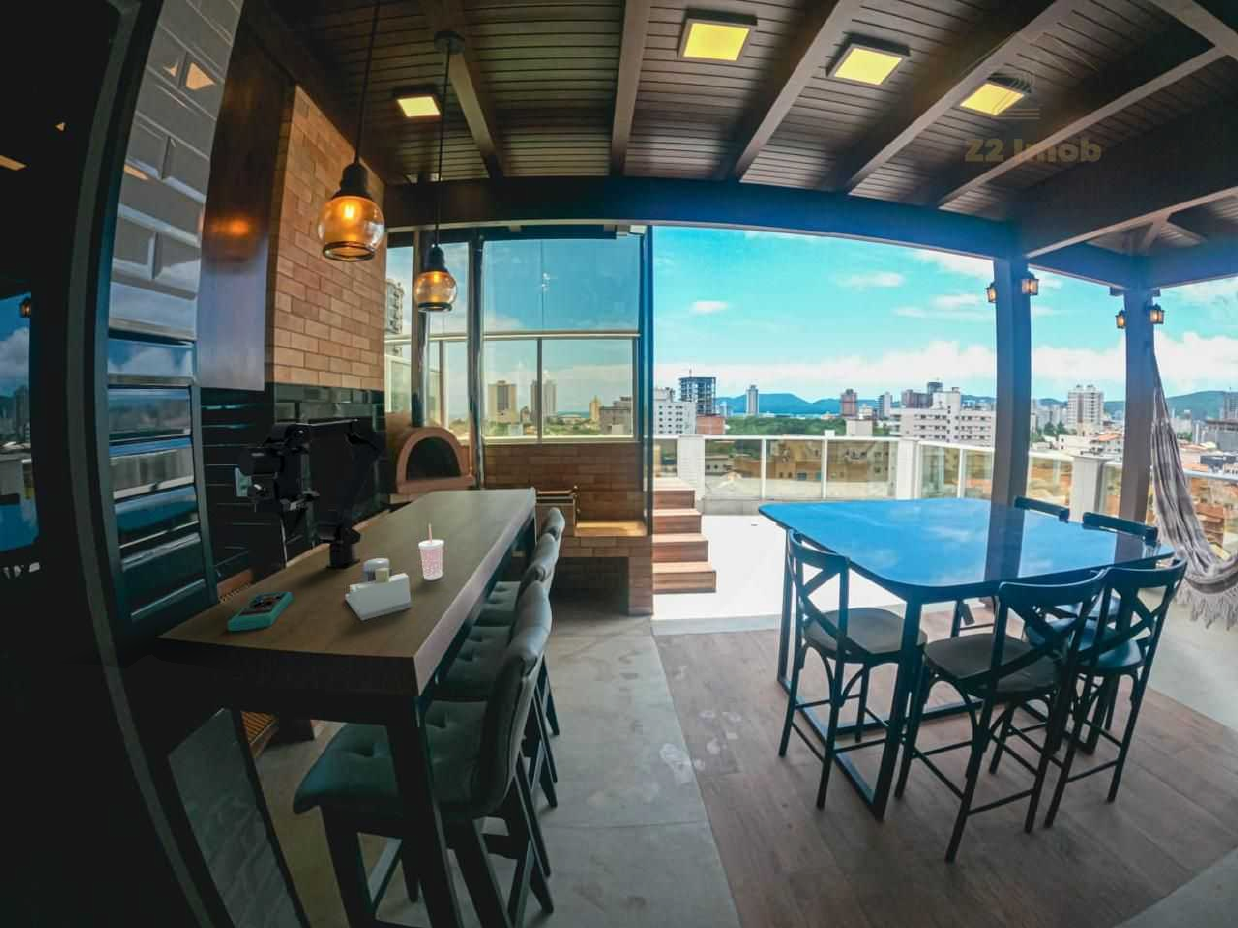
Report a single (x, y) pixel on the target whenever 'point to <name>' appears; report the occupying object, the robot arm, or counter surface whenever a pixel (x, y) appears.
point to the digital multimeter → (260, 611)
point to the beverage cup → (432, 557)
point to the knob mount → (380, 595)
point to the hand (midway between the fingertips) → (290, 535)
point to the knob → (374, 568)
